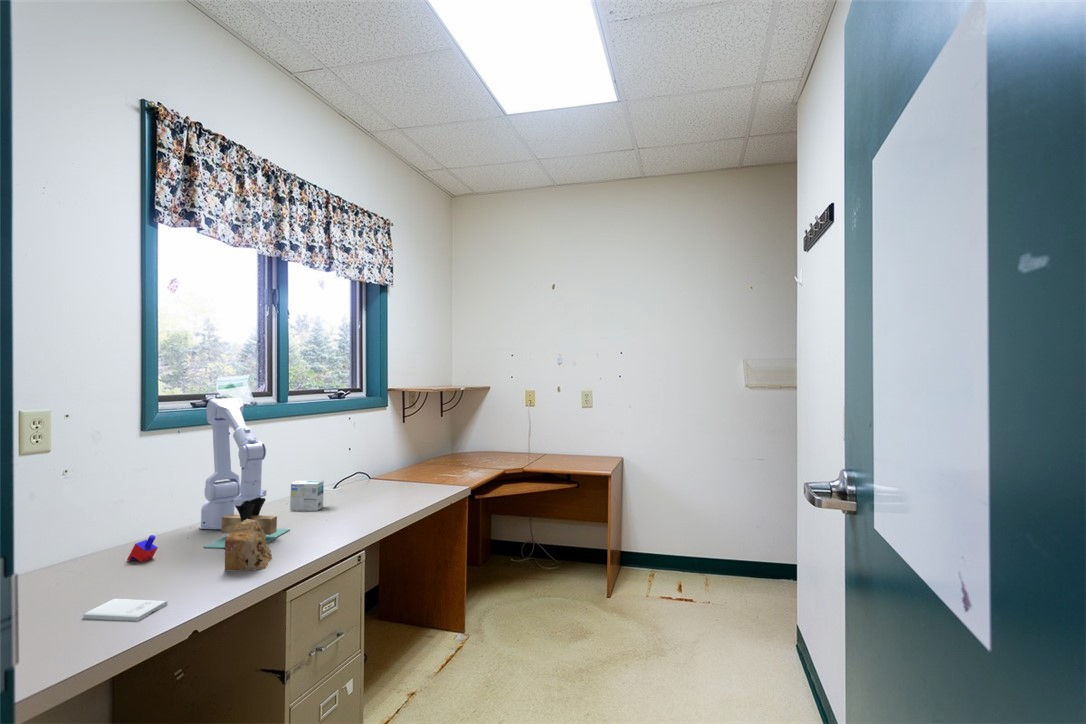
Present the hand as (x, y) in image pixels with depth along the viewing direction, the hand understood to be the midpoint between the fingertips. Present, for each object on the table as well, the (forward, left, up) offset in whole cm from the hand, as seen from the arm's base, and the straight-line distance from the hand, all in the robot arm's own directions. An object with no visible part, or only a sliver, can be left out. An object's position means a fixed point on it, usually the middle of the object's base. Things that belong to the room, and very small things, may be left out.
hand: (249, 523), depth 169 cm
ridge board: (0, 0, -5) cm, 5 cm away
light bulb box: (0, +38, -5) cm, 38 cm away
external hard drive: (+4, -52, -6) cm, 52 cm away
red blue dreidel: (-18, -21, -5) cm, 28 cm away
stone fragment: (+14, -20, -5) cm, 25 cm away
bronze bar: (0, 0, -3) cm, 3 cm away
